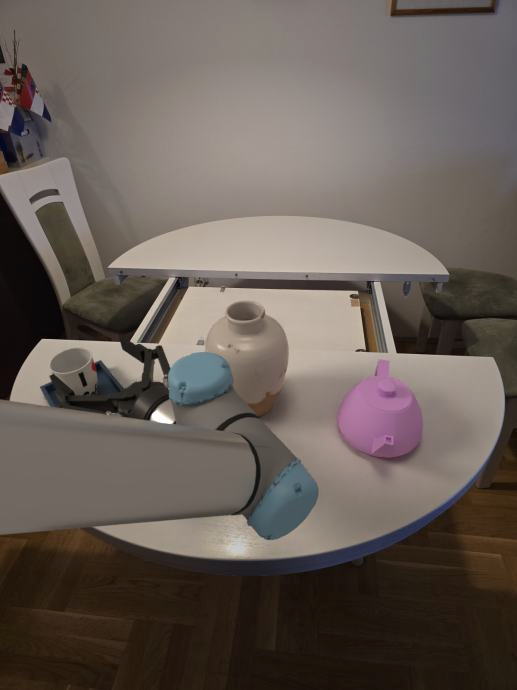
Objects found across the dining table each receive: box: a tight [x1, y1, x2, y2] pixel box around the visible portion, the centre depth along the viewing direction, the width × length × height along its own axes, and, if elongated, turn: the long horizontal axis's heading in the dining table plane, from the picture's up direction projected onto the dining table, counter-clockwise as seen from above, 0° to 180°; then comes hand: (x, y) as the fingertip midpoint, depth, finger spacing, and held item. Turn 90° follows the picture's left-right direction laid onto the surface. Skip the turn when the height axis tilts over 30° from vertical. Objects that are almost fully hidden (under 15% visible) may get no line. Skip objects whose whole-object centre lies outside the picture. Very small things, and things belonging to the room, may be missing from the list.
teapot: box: [336, 358, 424, 459], centre depth 74 cm, size 22×16×12 cm
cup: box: [48, 347, 98, 395], centre depth 83 cm, size 8×8×10 cm
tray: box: [39, 359, 125, 413], centre depth 86 cm, size 14×14×3 cm
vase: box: [204, 300, 290, 418], centre depth 78 cm, size 16×16×23 cm
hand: (89, 360), depth 72 cm, fingers open, 13 cm apart
